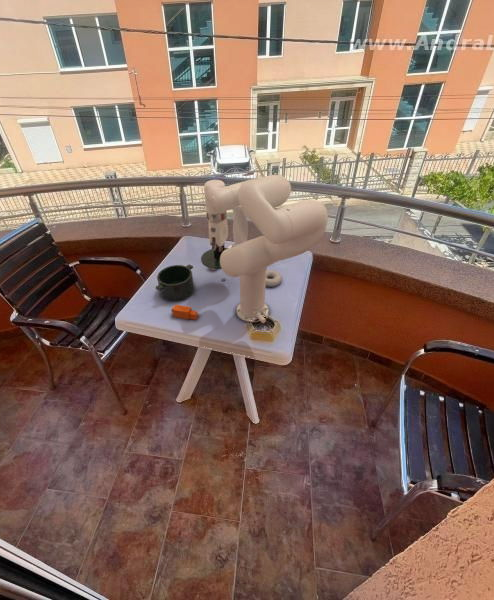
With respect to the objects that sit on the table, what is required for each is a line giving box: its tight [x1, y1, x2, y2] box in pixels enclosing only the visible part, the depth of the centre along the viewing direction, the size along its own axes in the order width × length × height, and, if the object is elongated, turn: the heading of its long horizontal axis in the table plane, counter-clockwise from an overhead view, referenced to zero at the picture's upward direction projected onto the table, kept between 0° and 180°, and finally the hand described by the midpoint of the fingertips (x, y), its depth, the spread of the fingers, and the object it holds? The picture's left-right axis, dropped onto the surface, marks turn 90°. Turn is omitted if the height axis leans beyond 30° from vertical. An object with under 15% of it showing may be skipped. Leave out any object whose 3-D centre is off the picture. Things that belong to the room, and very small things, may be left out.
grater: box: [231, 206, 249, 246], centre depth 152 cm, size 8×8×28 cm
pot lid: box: [200, 245, 229, 270], centre depth 131 cm, size 16×16×7 cm
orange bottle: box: [171, 304, 199, 321], centre depth 126 cm, size 10×3×4 cm, turn 72°
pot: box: [155, 264, 195, 302], centre depth 137 cm, size 15×20×8 cm
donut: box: [265, 269, 283, 288], centre depth 140 cm, size 10×3×10 cm
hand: (219, 256), depth 132 cm, fingers closed on pot lid, 3 cm apart
